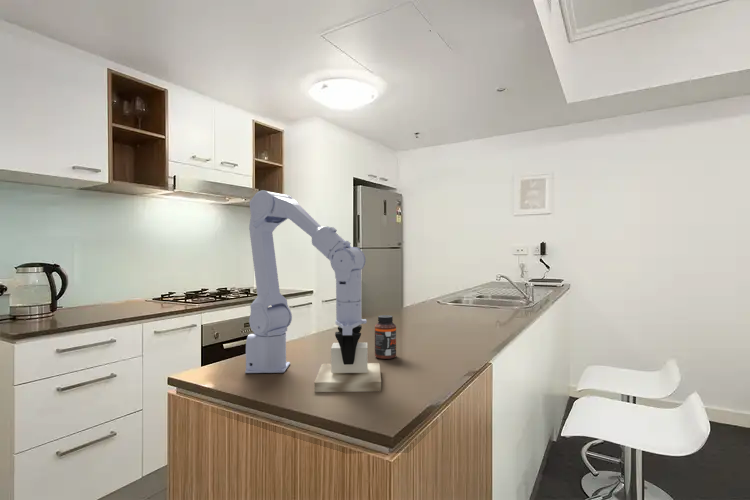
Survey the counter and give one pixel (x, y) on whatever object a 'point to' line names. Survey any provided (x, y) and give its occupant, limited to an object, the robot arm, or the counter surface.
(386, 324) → the supplement bottle
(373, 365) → the stand
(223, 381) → the counter surface
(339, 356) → the housing
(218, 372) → the counter surface
